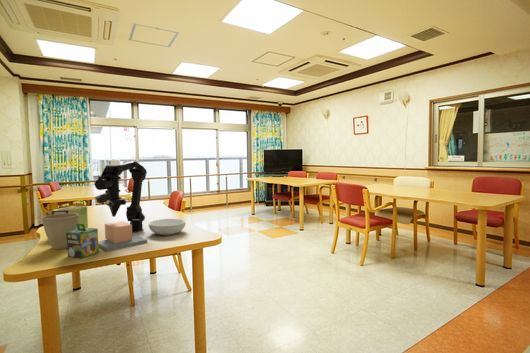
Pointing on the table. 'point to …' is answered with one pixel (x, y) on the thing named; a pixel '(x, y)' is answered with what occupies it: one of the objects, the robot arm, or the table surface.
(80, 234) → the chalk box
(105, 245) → the board
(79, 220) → the protein box
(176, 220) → the serving bowl
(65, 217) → the plant pot
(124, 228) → the terracotta carton
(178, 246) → the table surface
